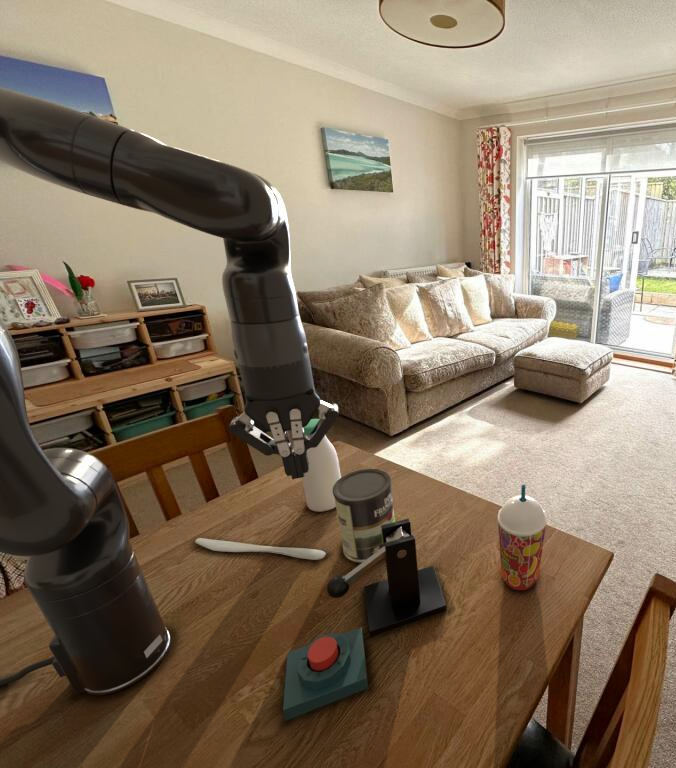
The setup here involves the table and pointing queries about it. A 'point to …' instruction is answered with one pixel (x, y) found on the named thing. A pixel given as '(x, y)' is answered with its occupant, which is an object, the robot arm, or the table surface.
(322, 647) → the button
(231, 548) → the butter knife
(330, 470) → the milk bottle
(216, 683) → the table surface
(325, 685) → the button block
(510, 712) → the table surface
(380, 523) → the coffee can
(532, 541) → the smoothie
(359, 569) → the lever
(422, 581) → the bracket
